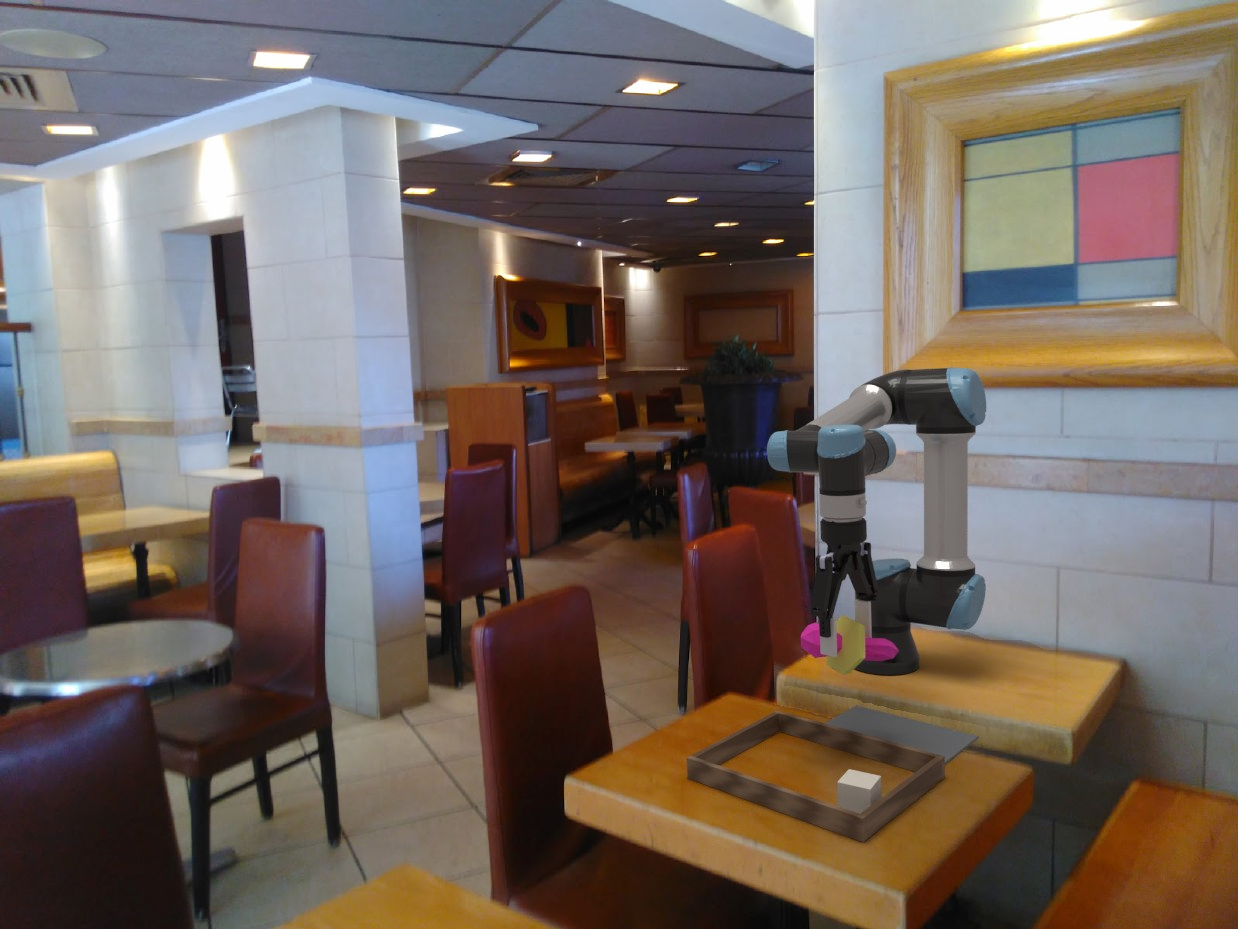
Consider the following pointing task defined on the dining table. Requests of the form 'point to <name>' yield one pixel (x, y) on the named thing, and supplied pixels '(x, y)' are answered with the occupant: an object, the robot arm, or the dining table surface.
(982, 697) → the dining table surface
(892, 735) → the mat
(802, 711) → the dining table surface
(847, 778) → the cream block
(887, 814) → the brown wooden frame
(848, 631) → the toy
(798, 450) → the robot arm
